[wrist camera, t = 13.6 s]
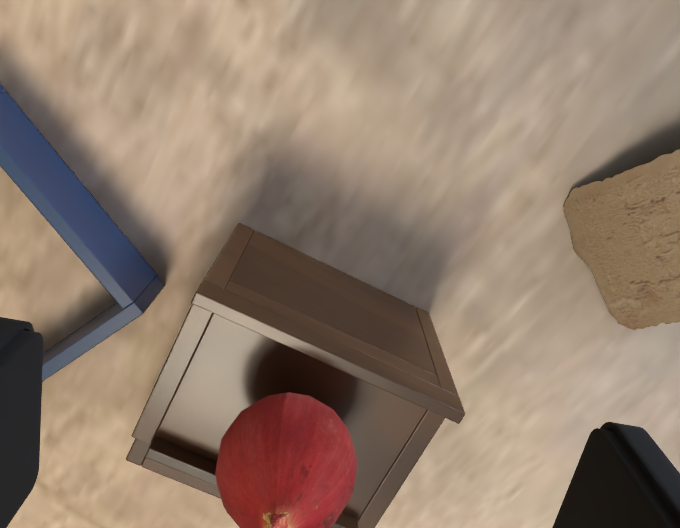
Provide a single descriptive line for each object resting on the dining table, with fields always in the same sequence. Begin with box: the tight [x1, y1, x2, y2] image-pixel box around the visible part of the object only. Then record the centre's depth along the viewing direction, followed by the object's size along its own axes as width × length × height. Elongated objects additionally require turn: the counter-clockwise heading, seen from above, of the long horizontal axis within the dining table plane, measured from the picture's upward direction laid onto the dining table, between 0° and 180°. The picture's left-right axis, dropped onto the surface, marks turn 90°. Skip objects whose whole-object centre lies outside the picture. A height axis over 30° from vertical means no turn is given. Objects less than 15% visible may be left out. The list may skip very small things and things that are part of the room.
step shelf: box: [126, 223, 465, 528], centre depth 34 cm, size 15×13×12 cm
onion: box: [215, 392, 357, 528], centre depth 25 cm, size 6×6×8 cm
